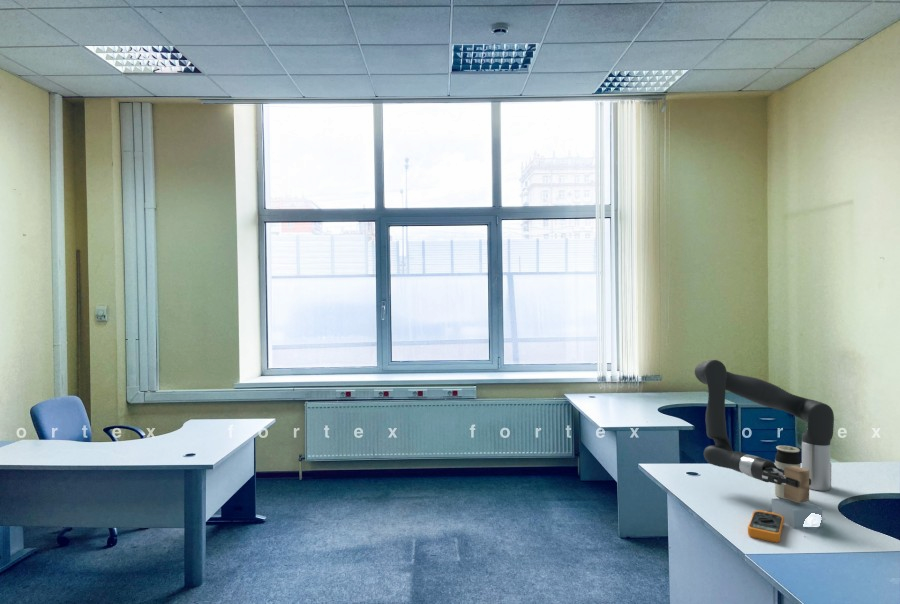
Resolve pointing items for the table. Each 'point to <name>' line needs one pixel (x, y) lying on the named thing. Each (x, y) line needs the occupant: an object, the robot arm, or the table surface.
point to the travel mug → (786, 463)
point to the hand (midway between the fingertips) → (804, 483)
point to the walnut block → (803, 477)
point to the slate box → (794, 511)
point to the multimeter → (766, 526)
